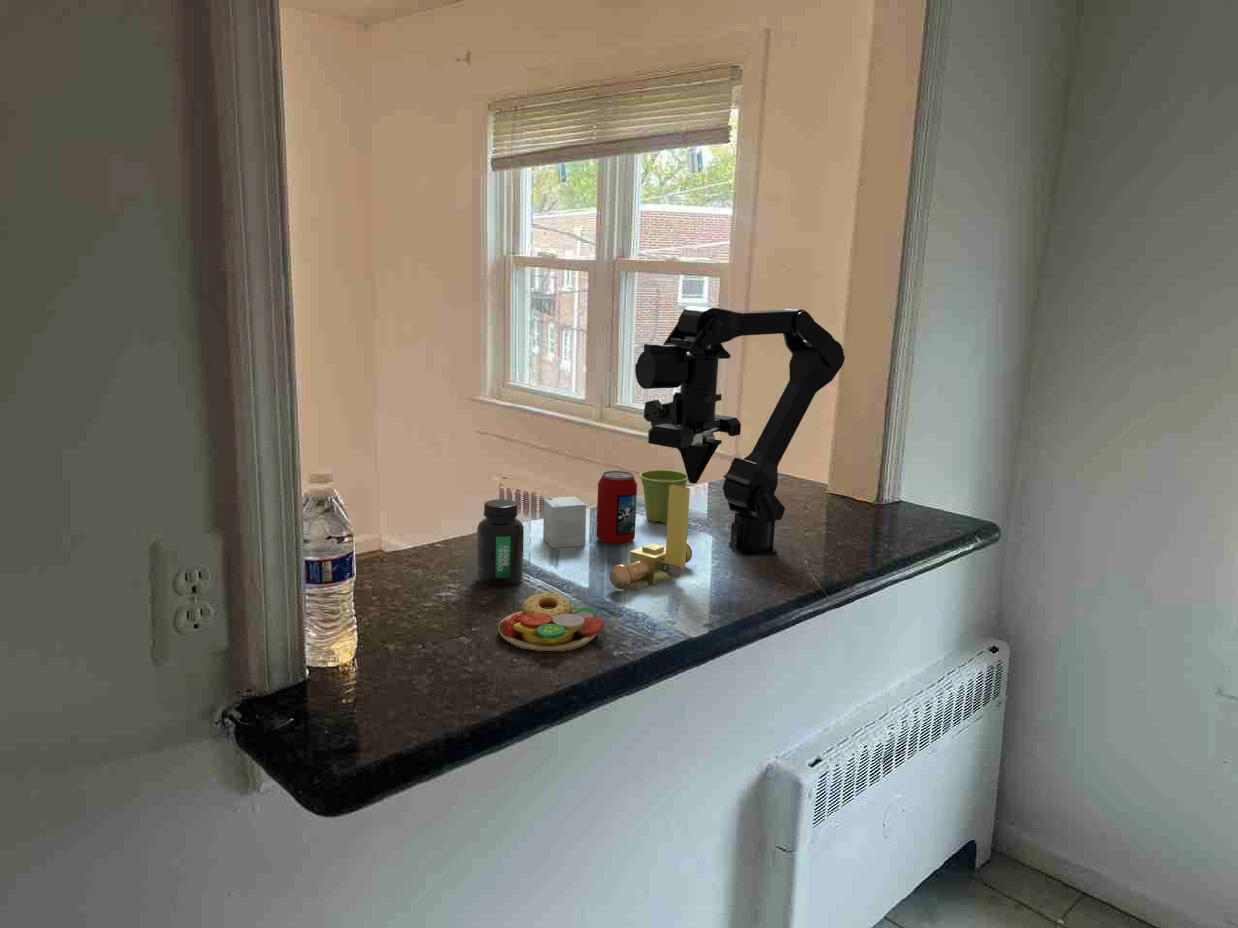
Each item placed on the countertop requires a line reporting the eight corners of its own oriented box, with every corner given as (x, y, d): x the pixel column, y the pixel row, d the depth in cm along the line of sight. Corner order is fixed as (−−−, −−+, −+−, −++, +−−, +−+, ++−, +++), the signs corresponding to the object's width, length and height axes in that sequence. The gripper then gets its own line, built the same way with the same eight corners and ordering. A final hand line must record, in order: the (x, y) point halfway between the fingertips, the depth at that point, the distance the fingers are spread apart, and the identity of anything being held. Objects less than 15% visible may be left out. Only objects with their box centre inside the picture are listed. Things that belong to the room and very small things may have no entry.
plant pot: (654, 528, 165) (656, 482, 163) (628, 515, 173) (630, 471, 171) (696, 523, 170) (699, 478, 168) (669, 510, 178) (671, 468, 176)
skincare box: (585, 546, 153) (587, 504, 151) (551, 549, 151) (552, 506, 149) (575, 536, 159) (576, 495, 157) (542, 538, 157) (542, 497, 155)
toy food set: (544, 608, 125) (545, 586, 125) (622, 633, 118) (623, 609, 117) (477, 637, 114) (477, 614, 114) (557, 666, 107) (558, 641, 106)
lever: (670, 573, 138) (675, 483, 135) (686, 577, 136) (692, 487, 133) (662, 576, 136) (666, 486, 133) (678, 581, 134) (683, 489, 131)
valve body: (672, 561, 147) (674, 531, 146) (699, 568, 144) (701, 538, 143) (603, 588, 133) (604, 556, 132) (632, 597, 130) (633, 564, 129)
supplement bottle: (511, 590, 131) (512, 511, 128) (469, 584, 133) (469, 506, 130) (529, 576, 137) (531, 500, 134) (488, 570, 139) (489, 495, 136)
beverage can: (630, 548, 153) (633, 480, 150) (592, 544, 154) (594, 476, 151) (637, 537, 159) (640, 471, 157) (600, 534, 160) (603, 468, 158)
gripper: (688, 377, 154) (683, 466, 157) (622, 386, 139) (618, 483, 143) (745, 384, 147) (738, 477, 151) (681, 394, 133) (676, 496, 136)
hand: (693, 482), depth 145 cm, fingers closed
